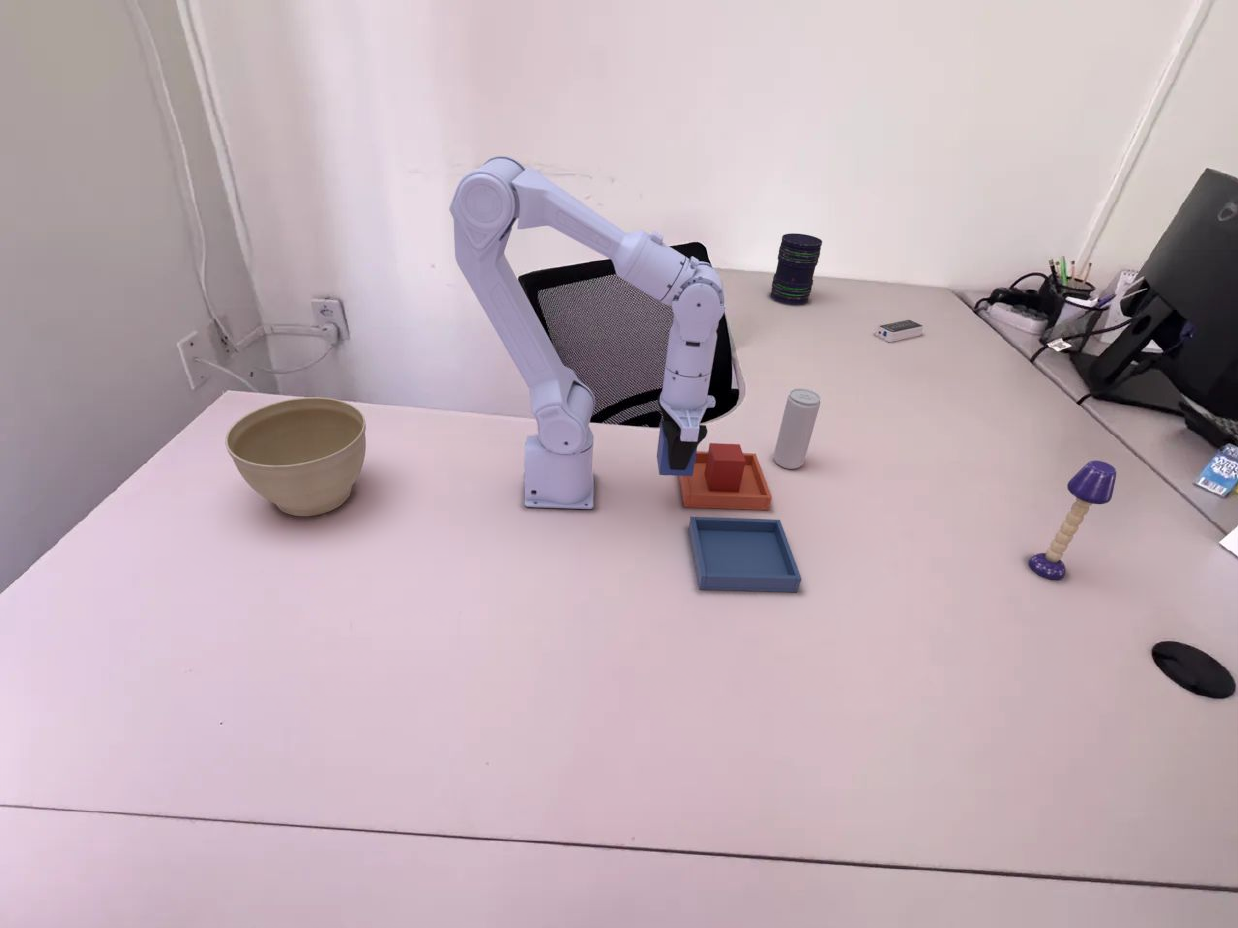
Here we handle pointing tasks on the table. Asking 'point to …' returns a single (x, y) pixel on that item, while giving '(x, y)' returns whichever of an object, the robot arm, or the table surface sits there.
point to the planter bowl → (300, 452)
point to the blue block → (664, 461)
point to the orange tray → (748, 497)
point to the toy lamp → (1076, 514)
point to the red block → (724, 467)
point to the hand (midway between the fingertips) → (675, 457)
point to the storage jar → (795, 268)
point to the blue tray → (742, 555)
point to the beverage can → (796, 428)
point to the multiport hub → (899, 330)
